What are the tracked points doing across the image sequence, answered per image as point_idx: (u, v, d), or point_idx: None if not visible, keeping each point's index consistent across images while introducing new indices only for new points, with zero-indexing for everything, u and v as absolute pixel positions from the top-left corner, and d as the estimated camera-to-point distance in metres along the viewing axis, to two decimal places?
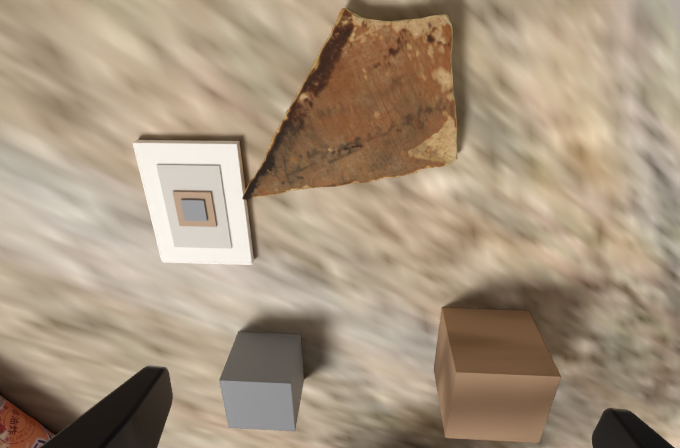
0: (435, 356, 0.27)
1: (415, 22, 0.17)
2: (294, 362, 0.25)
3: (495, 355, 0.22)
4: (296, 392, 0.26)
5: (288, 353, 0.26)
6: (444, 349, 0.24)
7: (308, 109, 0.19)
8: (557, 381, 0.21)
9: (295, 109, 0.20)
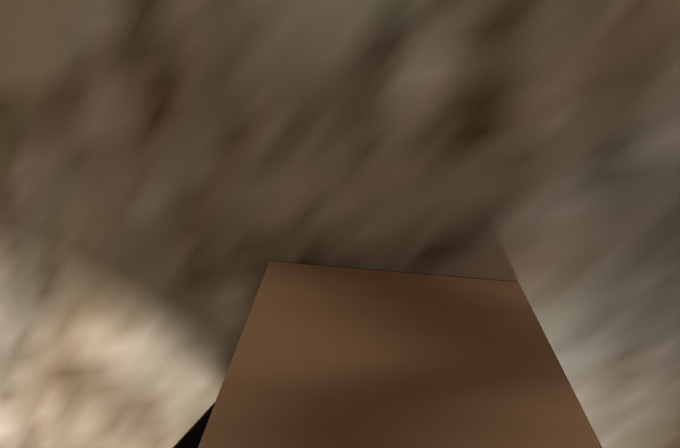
0: None
1: None
2: None
3: None
4: None
5: None
6: None
7: None
8: None
9: None
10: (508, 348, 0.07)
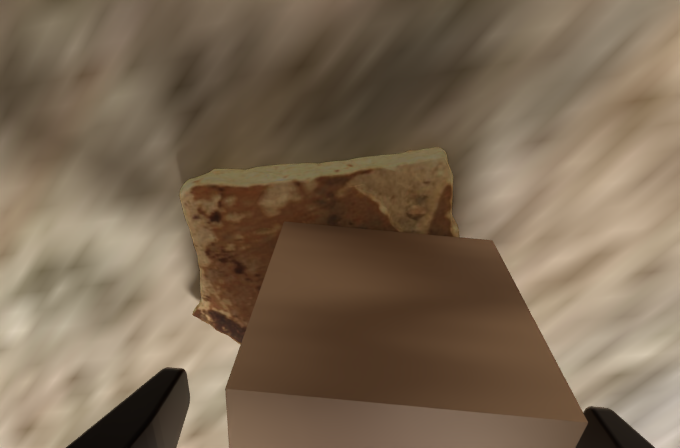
0: None
1: (195, 236, 0.11)
2: None
3: None
4: None
5: None
6: None
7: None
8: (248, 396, 0.06)
9: None
10: (481, 285, 0.09)
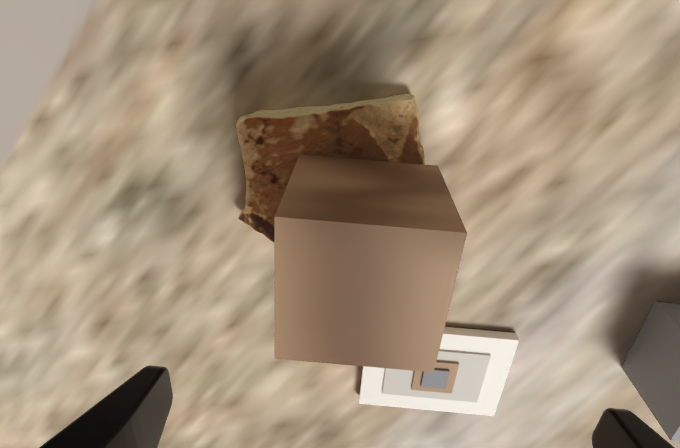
0: None
1: (244, 155, 0.16)
2: None
3: None
4: None
5: (673, 336, 0.18)
6: None
7: None
8: (286, 221, 0.11)
9: None
10: (424, 184, 0.14)
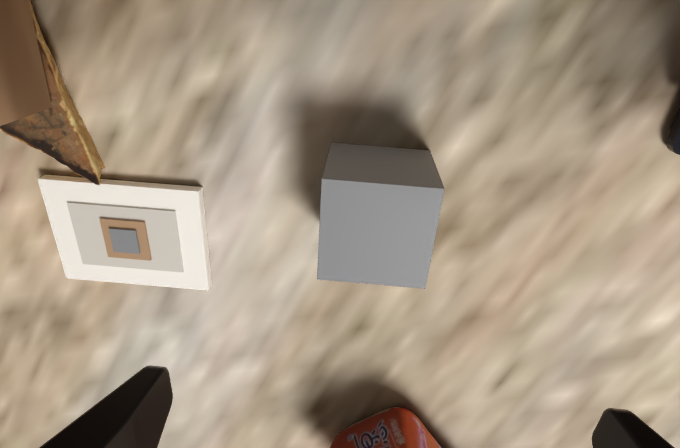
0: None
1: None
2: (327, 163, 0.16)
3: None
4: (387, 170, 0.15)
5: None
6: None
7: None
8: None
9: None
10: None
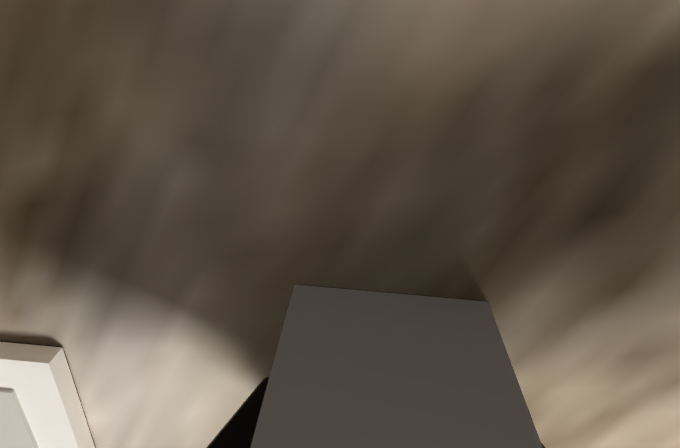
0: None
1: None
2: (272, 376, 0.07)
3: None
4: (408, 403, 0.07)
5: None
6: None
7: None
8: None
9: None
10: None
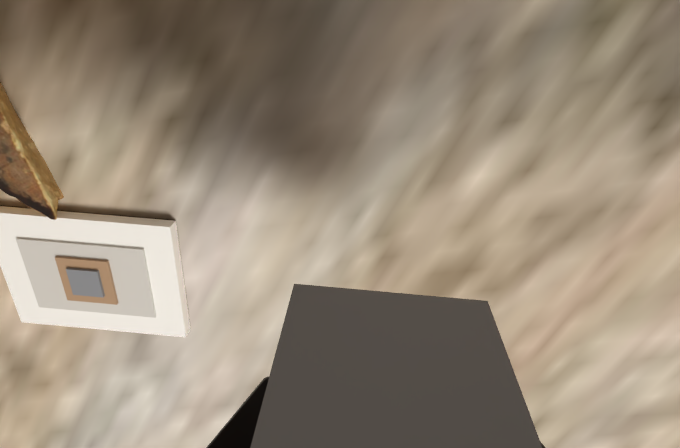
0: None
1: None
2: (272, 375, 0.07)
3: None
4: (408, 402, 0.07)
5: None
6: None
7: None
8: None
9: None
10: None
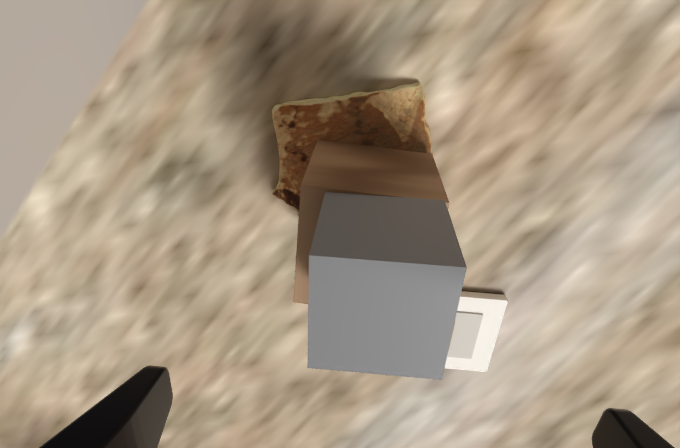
0: None
1: (279, 138, 0.19)
2: (317, 227, 0.13)
3: None
4: (392, 236, 0.12)
5: None
6: None
7: None
8: (310, 188, 0.15)
9: None
10: (419, 167, 0.17)
